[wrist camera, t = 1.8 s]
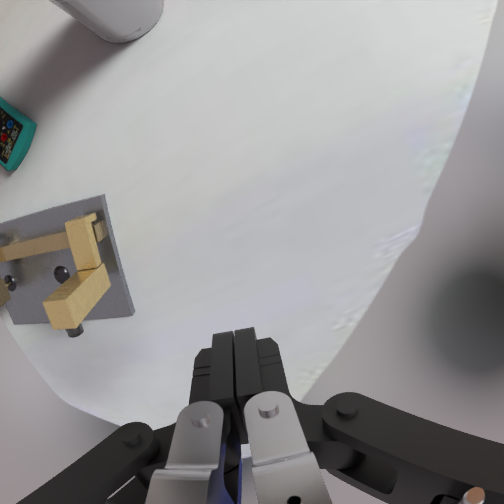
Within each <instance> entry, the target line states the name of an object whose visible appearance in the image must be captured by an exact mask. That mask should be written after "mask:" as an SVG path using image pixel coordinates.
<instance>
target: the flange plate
mask: <svg viewBox="0 0 504 504" xmlns="http://www.w3.org/2000/svg"><path fill="white" fill-rule="evenodd" d="M91 213H96V217H97V219H96V220H94V221H92V222H91V223H94V222H98V221H103V225H104V229H105V233H106V237H105V238H103V239H102V240H101V241H99V242H97V243H96V244H97V248H98V252H99V255H100V259H101V263H103V262H104V264H105V267H106V271H107V274H108V277H109V281H110V284H111V286H110V287H109V289H108V290H107V291H106V292H105V293H104V295H103V296H102V297H101V298H100V299H99V301H98V302H97V303H96V304H95V306H94V307H93V308H92V309H91V311H90V312H89V313H88V314H87V316H86V317H85V318H84V319H83V320H90V319H101V318H113V317H123V316H133V314H134V312H135V309H134V306H133V303H132V300H131V296H130V293H129V290H128V286H127V283H126V280H125V276H124V273H123V269H122V265H121V262H120V258H119V254H118V250H117V246H116V243H115V238H114V234H113V230H112V226H111V222H110V217H109V213H108V208H107V204H106V199H105V194H103V195H99V196H95V197H91V198H87V199H83V200H79V201H75V202H72V203H68V204H64V205H60V206H57V207H53V208H50V209H46V210H43V211H39V212H36V213H32V214H29V215H26V216H22V217H19V218H16V219H13V220H9V221H6V222H3V223H0V245H3V244H6V243H10V242H14V241H18V240H22V239H26V238H29V237H33V236H37V235H42V234H46V233H50V232H54V231H58V230H62V229H66V228H65V227H66V226H65V222H67V221H69V220H71V219H73V218H75V217H78V216H82V215H86V214H91ZM77 271H78V270H77V268H76V265H75V261H74V258H73V254H72V251H71V248H66V249H61V250H56V251H51V252H46V253H41V254H37V255H32V256H27V257H23V258H18V259H13V260H9V261H4V262H0V276H1V279H4V280H5V283H6V282H8V281H11V283H12V286H11V287H9V288H8V291H9V294H10V297H11V299H9V300H8V301H7V302H6V306H7V308H8V311H9V313H10V316H11V318H12V321H13V323H14V324H33V323H49V322H50V320H49V318H48V315H47V313H46V310H45V308H44V305H43V303H42V302H43V301H44V300H45V299H46V298H48V297H49V296H50V295H51V294H52V293H53V292H54V291H55V290H56V289H57V288H59V287H60V286H61V285H62V284H63V283H64V282H65V281H66V280H67V279H69V278H70V277H71V276H72V275H73V274H74V273H75V272H77Z"/></svg>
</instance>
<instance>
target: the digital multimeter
mask: <svg viewBox="0 0 504 504" xmlns="http://www.w3.org/2000/svg"><path fill="white" fill-rule="evenodd" d="M15 119H16V120H15ZM20 123H21V124H20ZM36 126H37V125H36V123H35V122H34V121H32V120H31V119H29V118H28V117H26V116H25V115H23V114H22V113H20V112H19V111H18V110H16V109H15V108H13V107H12V106H11V105H10V104H8V103H7V102H6V101H5V100H3V99H2V98H1V97H0V164H1V165H2V166H3V167H4V168H5V169H6V170H7V171H11V170H16V169H17V168H18V166H19V165H20V163H21V162H22V160H23V159H24V157H25V155H26V154H27V152H28V149H29V147H30V145H31V142H32V139H33V136H34V133H35V130H36Z"/></svg>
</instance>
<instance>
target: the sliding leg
mask: <svg viewBox="0 0 504 504" xmlns="http://www.w3.org/2000/svg"><path fill="white" fill-rule="evenodd" d="M96 219H97V217H96V213H91V214H86V215H82V216H78V217H75V218H73V219H71V220H69V221H67V222H65V226H66V227H65V228H66V232H67V236H68V240H69V243H70V247H71V251H72V254H73V258H74V261H75V265H76V268H77V270H78V271H77V272H75V273H74V274H73V275H72V276H71V277H70V278H69V279H67V280H66V281H65V282H64V283H63V284H62V285H61V286H60V287H59V288H57V289H56V290H55V291H54V292H53V293H52V294H51V295H50V296H49V297H48V298H46V299H45V300H44V301H43V302H42V303H43V305H44V308H45V310H46V313H47V315H48V318H49V320H50V323H51V325H52V328H53V330H55V329H66V331H67V333H68V336H69V337H77V336H79V335H81V334H82V333H83V332H84V329H83V327H82V324H81V322H82V321H83V319H84V318H85V317H86V316H87V314H88V313H89V312H90V311H91V309H92V308H93V307H94V306H95V304H96V303H97V302H98V301H99V299H100V298H101V297H102V296H103V295H104V293H105V292H106V291H107V290H108V289H109V287H110V286H111V284H110V281H109V277H108V274H107V271H106V267H105V264H104V262H103V263H101V259H100V255H99V252H98V248H97V244H96V240H95V236H94V232H93V228H92V224H91V222H92V221H94V220H96Z"/></svg>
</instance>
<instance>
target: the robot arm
mask: <svg viewBox="0 0 504 504" xmlns="http://www.w3.org/2000/svg"><path fill="white" fill-rule="evenodd" d="M49 1H50V2H52V3H53V4H55V5H56V6H58V7H59V8H61V9H62V10H64V11H65V12H67V13H68V14H69V15H71V16H72V17H74V18H75V19H76V20H78V21H79V22H81V23H82V24H83V25H85V26H86V27H88V28H89V29H90V30H92V31H93V32H94V33H96V34H97V35H98V36H100V37H101V38H102V39H104V40H106V41H108V42H113V43H124V42H129V41H132V40H134V39H137V38H139V37H141V36H142V35H144V34H145V33H147V32H148V31H149V30H150V29H151V28H152V27H153V26H154V25H155V24H156V23H157V21H158V20H159V18H160V16H161V14H162V11H163V5H164V4H163V0H49ZM248 438H249V441H248ZM248 443H250V449H251V454H252V460H253V465H252V471H253V477H254V483H255V488H256V493H257V498H258V503H259V504H332V501H331V498H330V496H329V493H328V490H327V487H326V485H325V482H324V479H323V477H322V474H321V471H320V469H326V470H327V471H328V472H329V473H330V474H332V475H333V476H335V477H337V478H339V479H341V480H342V481H344V482H346V483H348V484H350V485H352V486H354V487H356V488H358V489H360V490H361V491H363V492H365V493H367V494H370V495H371V496H373V497H375V498H378V499H380V500H382V501H384V502H386V503H388V504H504V444H501V443H498V442H494V441H491V440H487V439H484V438H480V437H477V436H474V435H470V434H467V433H464V432H461V431H458V430H455V429H452V428H449V427H446V426H443V425H440V424H437V423H434V422H432V421H429V420H425V419H423V418H420V417H417V416H415V415H412V414H410V413H407V412H404V411H401V410H399V409H396V408H394V407H391V406H389V405H386V404H384V403H381V402H378V401H376V400H374V399H371V398H369V397H366V396H364V395H361V394H359V393H354V392H345V393H340V394H337V395H335V396H333V397H331V398H330V399H329V400H327V401H326V402H325V404H324V405H307V404H303V403H300V402H298V401H296V400H295V399H294V398H293V397H292V396H291V395H290V393H289V390H288V385H287V381H286V377H285V373H284V368H283V364H282V360H281V356H280V351H279V347H278V344H277V343H276V342H275V341H274V340H273V339H271V338H265V339H259V340H257V339H256V334H255V329H254V327H251V328H246V329H240V330H235V337H234V333H233V331H229V332H223V333H217V334H213V339H212V348H206V349H201V351H200V352H199V353H198V355H197V356H196V358H195V362H194V370H193V378H192V384H191V391H190V399H189V405H188V406H187V407H185V408H184V409H183V410H182V411H181V412H180V414H179V415H178V418H177V422H176V423H174V424H172V425H169V426H166V427H163V428H160V429H157V430H154V431H153V430H152V429H151V427H150V426H148V425H147V424H145V423H142V422H131V423H127V424H125V425H123V426H121V427H120V428H118V429H117V430H116V431H115V432H113V433H112V434H111V435H109V436H108V437H107V438H106V439H104V440H103V441H102V442H100V443H99V444H98V445H97V446H95V447H94V448H93V449H91V450H90V451H89V452H87V453H86V454H85V455H83V456H82V457H81V458H79V459H78V460H77V461H75V462H74V463H73V464H71V465H70V466H69V467H67V468H66V469H64V470H63V471H62V472H61V473H59V474H58V475H56V476H55V477H53V478H52V479H51V480H49V481H48V482H47V483H45V484H44V485H42V486H41V487H39V488H38V489H37V490H35V491H34V492H32V493H31V494H29V495H28V496H27V497H25V498H24V499H22V500H21V501H19V502H18V503H16V504H241V498H242V467H243V462H242V459H241V444H248ZM133 476H135V478H134V479H133V480H131V481H130V482H129V483H128V484H127V485H125V487H123V488H122V489H121V490H119V491H118V492H117V493H116V494H115V495H114V496H112V497H111V498H109V499H107V498H108V497H109V496H110V495H111V494H112V493H114V492H115V491H116V490H117V489H119V488H120V487H121V486H122V485H124V484H125V483H126V482H127V481H128V480H130V479H131V478H132V477H133Z"/></svg>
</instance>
